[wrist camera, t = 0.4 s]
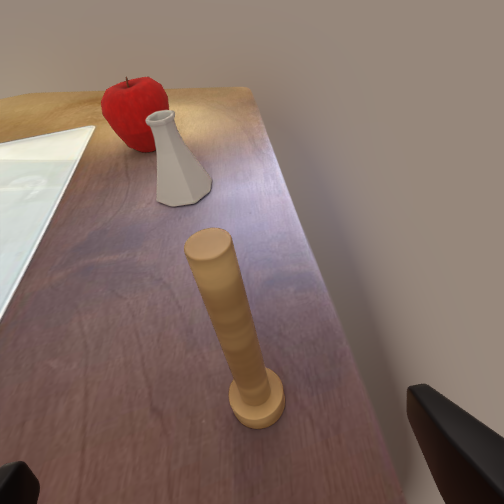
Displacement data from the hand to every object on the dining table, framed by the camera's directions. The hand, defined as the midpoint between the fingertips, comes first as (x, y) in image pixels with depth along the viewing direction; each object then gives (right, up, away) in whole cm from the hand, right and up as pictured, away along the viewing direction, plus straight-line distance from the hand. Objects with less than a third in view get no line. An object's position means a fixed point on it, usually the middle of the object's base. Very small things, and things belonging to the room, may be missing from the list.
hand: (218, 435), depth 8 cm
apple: (-16, +21, +50) cm, 56 cm away
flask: (-8, +12, +38) cm, 40 cm away
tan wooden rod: (+1, -6, +16) cm, 17 cm away
